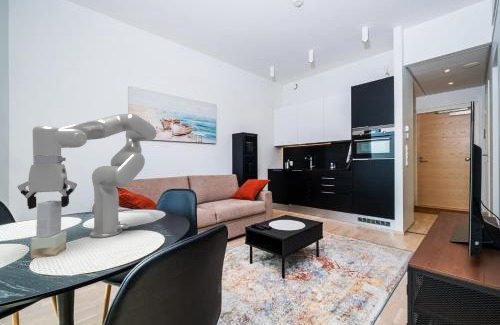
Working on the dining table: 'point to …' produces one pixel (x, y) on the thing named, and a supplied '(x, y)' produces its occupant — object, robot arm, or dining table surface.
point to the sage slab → (48, 241)
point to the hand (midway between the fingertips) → (48, 207)
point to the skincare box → (48, 218)
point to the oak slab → (48, 251)
